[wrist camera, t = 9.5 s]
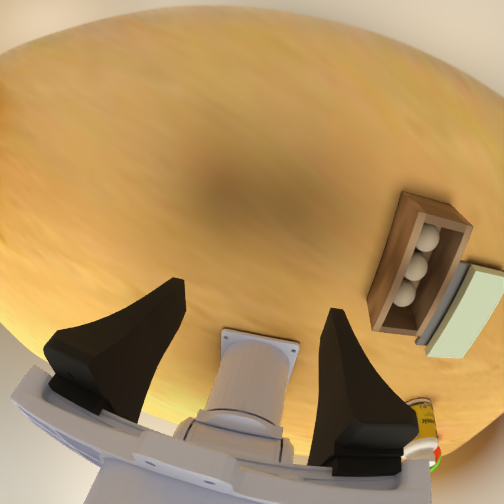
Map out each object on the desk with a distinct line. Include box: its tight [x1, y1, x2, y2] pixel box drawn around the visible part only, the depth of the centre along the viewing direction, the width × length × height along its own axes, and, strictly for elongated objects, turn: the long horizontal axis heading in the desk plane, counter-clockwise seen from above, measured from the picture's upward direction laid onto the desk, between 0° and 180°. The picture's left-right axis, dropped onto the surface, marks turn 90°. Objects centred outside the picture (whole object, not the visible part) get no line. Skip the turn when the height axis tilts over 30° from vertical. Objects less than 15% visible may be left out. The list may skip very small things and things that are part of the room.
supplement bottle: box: [401, 398, 438, 467], centre depth 27 cm, size 5×5×10 cm
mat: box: [415, 261, 504, 346], centre depth 22 cm, size 10×7×1 cm
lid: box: [425, 264, 504, 358], centre depth 21 cm, size 10×5×2 cm, turn 175°
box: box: [366, 192, 473, 337], centre depth 19 cm, size 10×5×4 cm, turn 175°
